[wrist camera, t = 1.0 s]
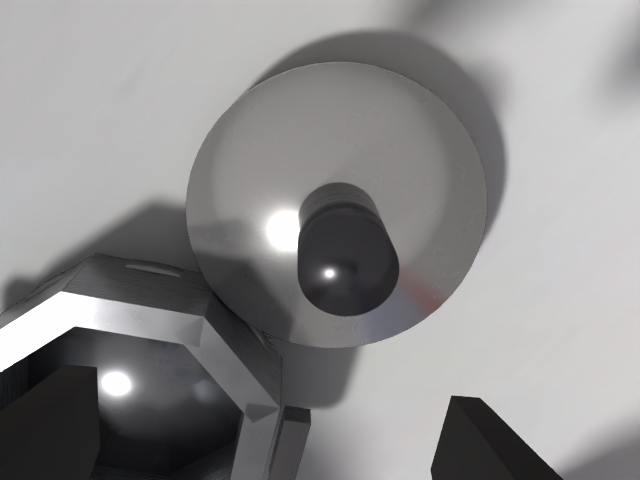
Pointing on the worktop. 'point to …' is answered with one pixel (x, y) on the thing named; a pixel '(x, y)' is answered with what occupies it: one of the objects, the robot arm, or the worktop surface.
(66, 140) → the worktop surface
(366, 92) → the lid
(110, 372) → the pot
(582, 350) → the worktop surface
